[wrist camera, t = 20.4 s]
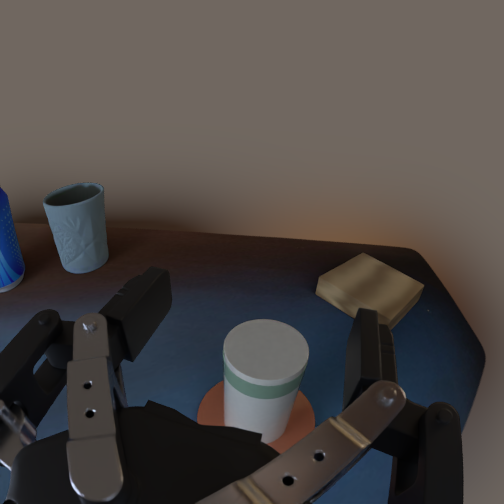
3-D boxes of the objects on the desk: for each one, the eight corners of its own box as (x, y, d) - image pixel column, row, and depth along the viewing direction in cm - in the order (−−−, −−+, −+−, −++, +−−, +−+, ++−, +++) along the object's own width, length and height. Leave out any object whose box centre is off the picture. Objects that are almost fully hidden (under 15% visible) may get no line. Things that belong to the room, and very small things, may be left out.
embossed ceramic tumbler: (116, 244, 54) (108, 180, 48) (108, 275, 45) (96, 201, 39) (65, 248, 51) (54, 186, 45) (51, 279, 43) (33, 208, 37)
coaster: (336, 423, 27) (338, 420, 26) (249, 493, 20) (250, 491, 20) (261, 360, 34) (261, 357, 33) (175, 408, 27) (174, 406, 27)
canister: (288, 394, 29) (307, 321, 24) (288, 447, 24) (312, 383, 19) (227, 389, 29) (229, 314, 24) (218, 441, 24) (216, 375, 19)
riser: (418, 300, 44) (424, 285, 43) (383, 337, 37) (390, 320, 36) (359, 267, 52) (363, 252, 51) (315, 293, 45) (319, 276, 44)
